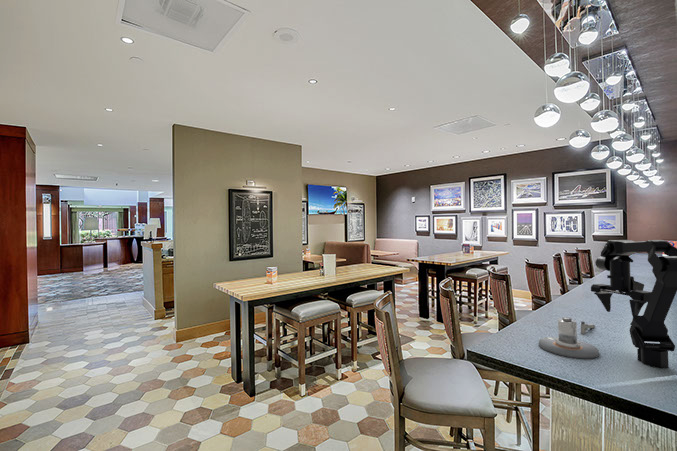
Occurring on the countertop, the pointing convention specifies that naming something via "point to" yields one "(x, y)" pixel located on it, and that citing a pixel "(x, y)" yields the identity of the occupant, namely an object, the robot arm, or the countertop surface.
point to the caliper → (585, 327)
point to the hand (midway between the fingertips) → (621, 314)
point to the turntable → (583, 352)
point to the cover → (567, 334)
